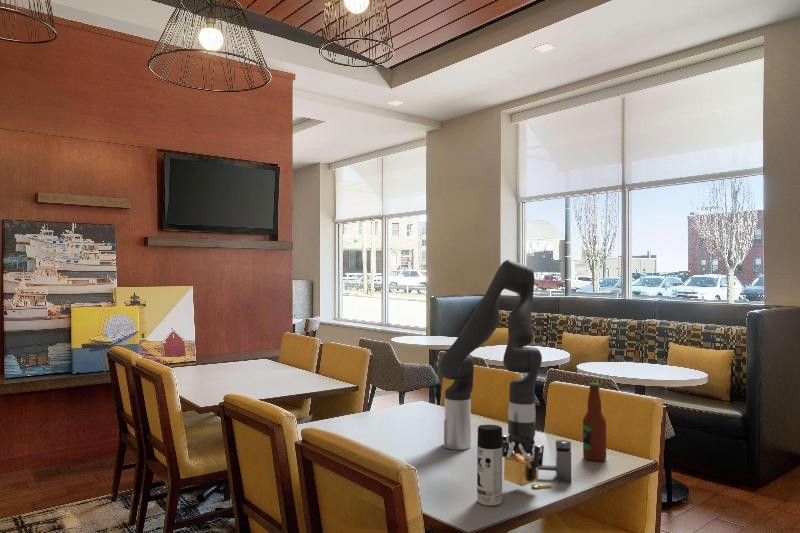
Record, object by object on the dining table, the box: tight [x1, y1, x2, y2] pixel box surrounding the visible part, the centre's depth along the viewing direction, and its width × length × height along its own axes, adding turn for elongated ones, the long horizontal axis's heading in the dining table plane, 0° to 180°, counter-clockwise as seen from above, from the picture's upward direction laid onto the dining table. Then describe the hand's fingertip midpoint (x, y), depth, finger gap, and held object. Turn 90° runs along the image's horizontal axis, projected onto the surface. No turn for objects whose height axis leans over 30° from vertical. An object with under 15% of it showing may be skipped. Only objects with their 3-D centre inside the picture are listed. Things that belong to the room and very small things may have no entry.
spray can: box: [476, 424, 503, 507], centre depth 155 cm, size 7×7×20 cm
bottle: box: [582, 382, 607, 463], centre depth 192 cm, size 7×7×25 cm
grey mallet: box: [538, 439, 572, 484], centre depth 173 cm, size 12×6×11 cm, turn 79°
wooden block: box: [503, 454, 539, 487], centre depth 162 cm, size 7×6×6 cm
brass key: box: [531, 483, 553, 490], centre depth 166 cm, size 6×2×1 cm, turn 99°
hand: (520, 477), depth 162 cm, fingers closed on wooden block, 6 cm apart
